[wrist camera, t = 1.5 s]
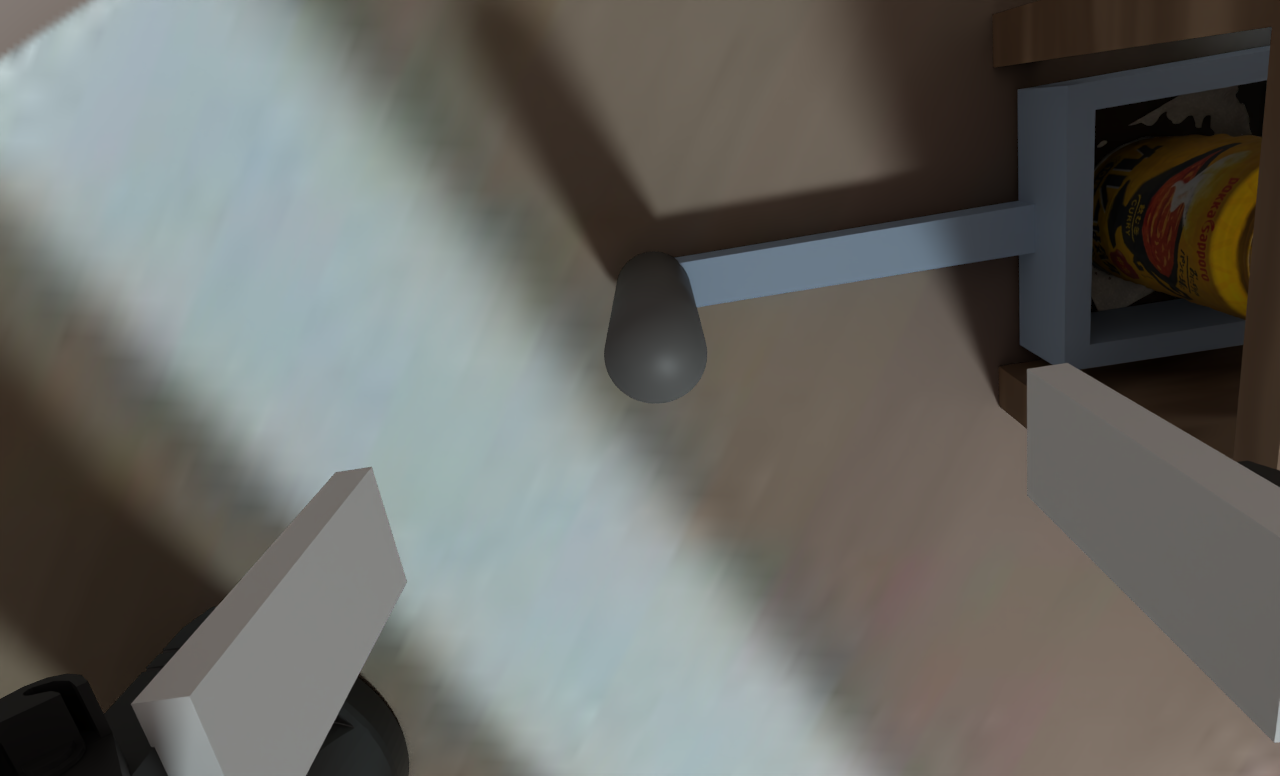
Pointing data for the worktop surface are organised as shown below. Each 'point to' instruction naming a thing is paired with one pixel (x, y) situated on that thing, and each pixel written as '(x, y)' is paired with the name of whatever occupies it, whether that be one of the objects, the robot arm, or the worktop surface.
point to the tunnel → (1276, 306)
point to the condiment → (1179, 209)
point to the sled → (948, 250)
